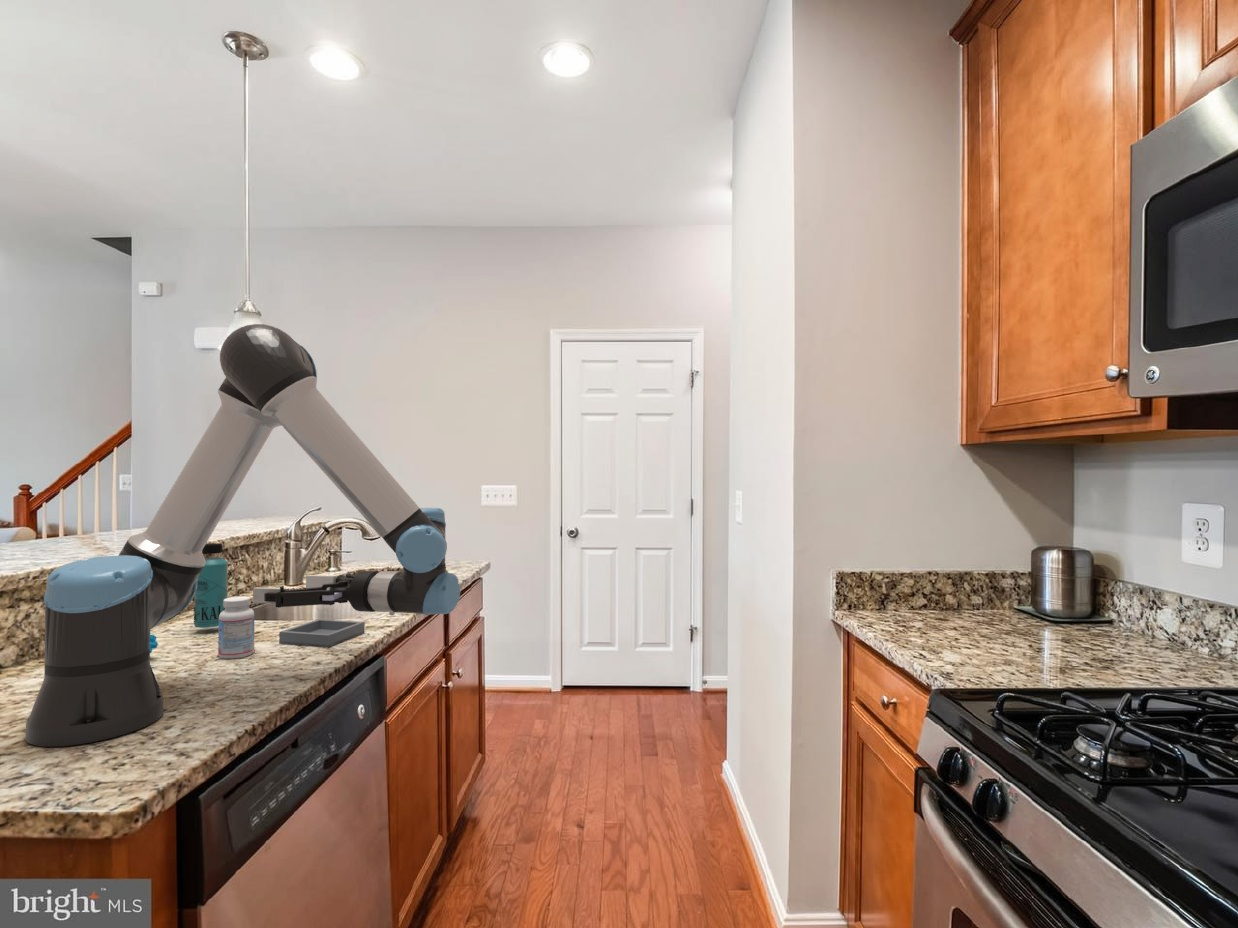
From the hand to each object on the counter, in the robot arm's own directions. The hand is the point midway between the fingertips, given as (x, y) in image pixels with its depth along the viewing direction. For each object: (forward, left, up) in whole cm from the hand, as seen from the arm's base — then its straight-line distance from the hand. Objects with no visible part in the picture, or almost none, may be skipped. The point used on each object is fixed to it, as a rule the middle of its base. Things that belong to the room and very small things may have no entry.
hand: (282, 588), depth 122 cm
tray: (+15, +2, -14) cm, 20 cm away
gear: (-10, +27, -14) cm, 32 cm away
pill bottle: (0, +10, -14) cm, 17 cm away
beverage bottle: (+14, +31, -14) cm, 37 cm away
